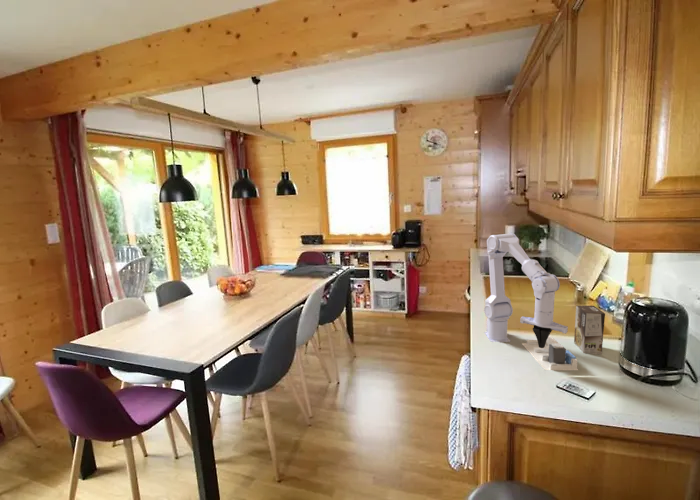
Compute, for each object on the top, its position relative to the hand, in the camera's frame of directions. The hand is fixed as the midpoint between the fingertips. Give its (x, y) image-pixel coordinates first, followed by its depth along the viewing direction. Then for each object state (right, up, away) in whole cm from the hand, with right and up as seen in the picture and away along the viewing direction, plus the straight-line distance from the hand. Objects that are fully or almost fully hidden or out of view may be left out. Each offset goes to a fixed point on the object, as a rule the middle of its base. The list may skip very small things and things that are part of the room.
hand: (541, 346), depth 125 cm
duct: (+6, -6, +7) cm, 11 cm away
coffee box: (+23, -4, +11) cm, 26 cm away
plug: (+5, -6, +1) cm, 8 cm away
